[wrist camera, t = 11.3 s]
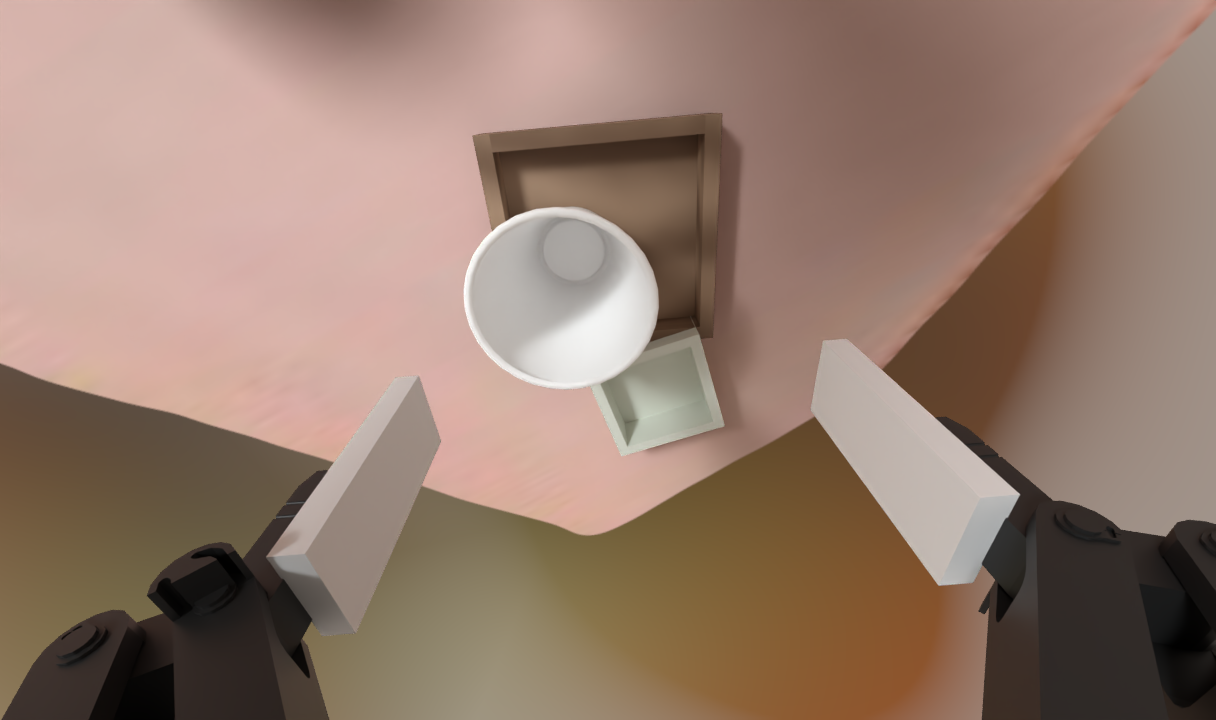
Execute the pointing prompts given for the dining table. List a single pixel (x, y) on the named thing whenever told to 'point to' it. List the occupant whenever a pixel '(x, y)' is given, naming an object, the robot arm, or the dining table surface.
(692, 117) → the brown square tray
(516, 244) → the cup
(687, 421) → the small crate
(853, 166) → the dining table surface
